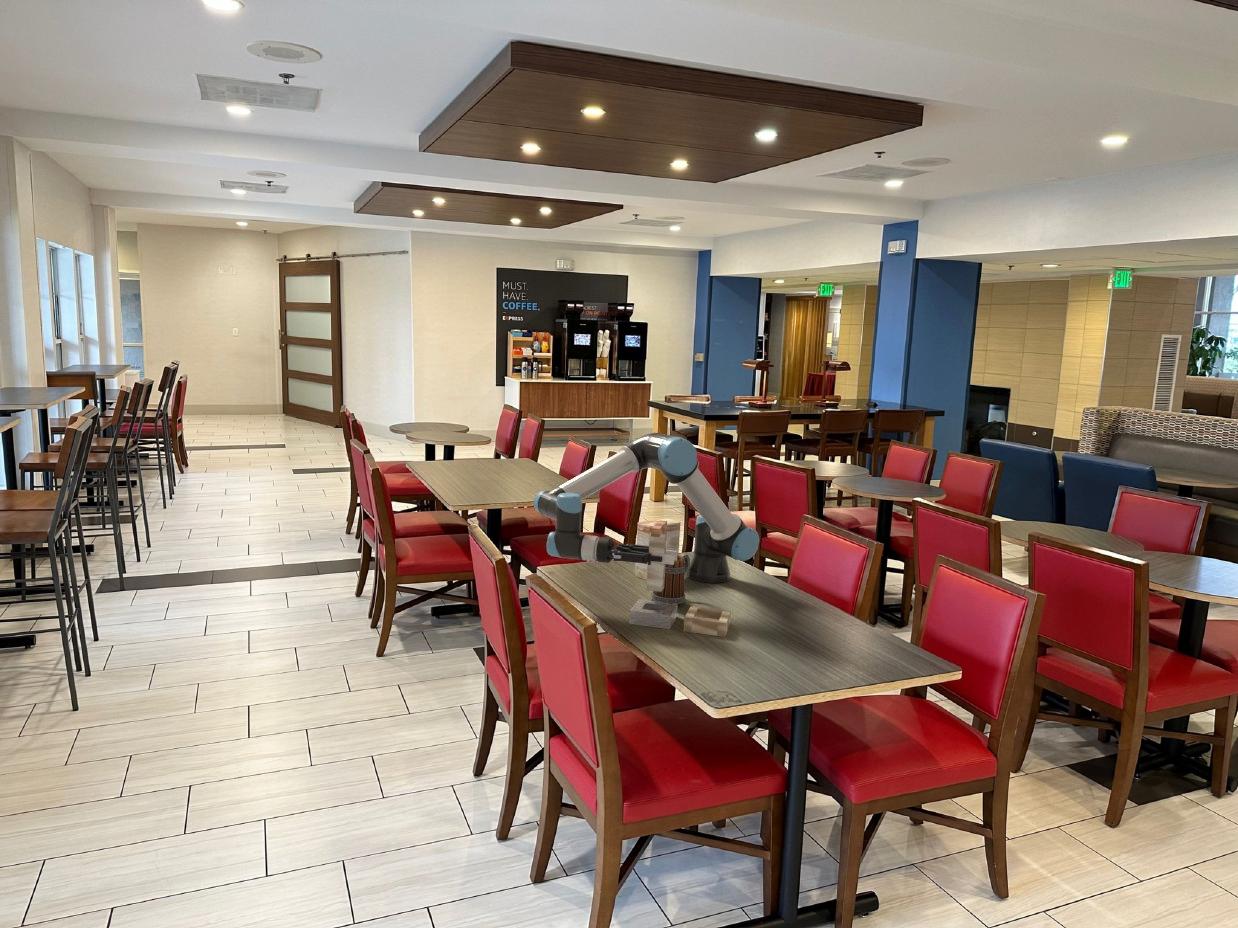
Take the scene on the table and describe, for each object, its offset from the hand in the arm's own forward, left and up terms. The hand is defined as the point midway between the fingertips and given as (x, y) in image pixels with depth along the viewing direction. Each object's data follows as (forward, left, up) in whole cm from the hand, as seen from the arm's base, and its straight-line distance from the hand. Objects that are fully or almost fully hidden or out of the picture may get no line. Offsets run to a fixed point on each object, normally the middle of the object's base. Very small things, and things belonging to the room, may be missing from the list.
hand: (675, 557), depth 243 cm
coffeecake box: (-49, -14, -20) cm, 55 cm away
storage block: (0, +11, -20) cm, 22 cm away
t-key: (0, -5, -10) cm, 11 cm away
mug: (-21, -3, -20) cm, 29 cm away
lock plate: (0, -5, -20) cm, 20 cm away
